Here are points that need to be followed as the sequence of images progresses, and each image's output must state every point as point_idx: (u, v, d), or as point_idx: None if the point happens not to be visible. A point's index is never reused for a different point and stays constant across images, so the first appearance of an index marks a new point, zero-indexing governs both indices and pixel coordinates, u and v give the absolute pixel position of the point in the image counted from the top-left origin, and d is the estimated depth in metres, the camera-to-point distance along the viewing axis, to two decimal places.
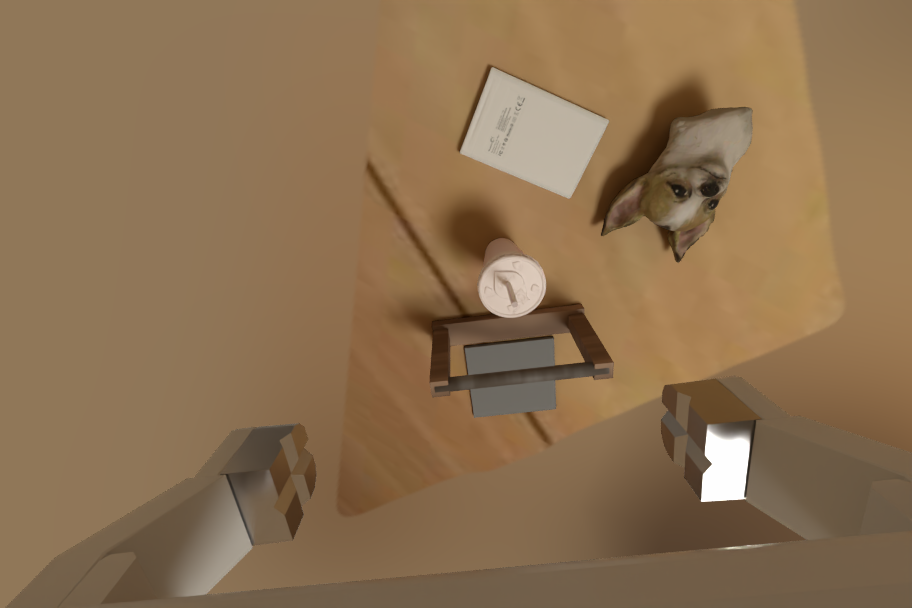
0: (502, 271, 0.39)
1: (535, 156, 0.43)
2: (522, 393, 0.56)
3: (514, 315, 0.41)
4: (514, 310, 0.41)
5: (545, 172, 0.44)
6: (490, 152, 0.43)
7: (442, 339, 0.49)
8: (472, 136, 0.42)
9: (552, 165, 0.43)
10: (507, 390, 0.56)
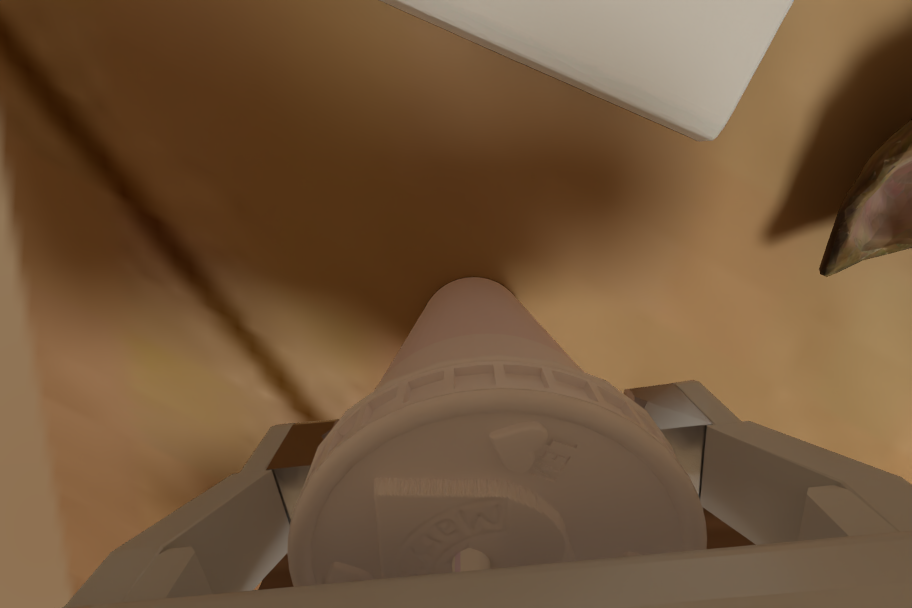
0: (427, 486, 0.06)
1: None
2: None
3: None
4: None
5: (631, 32, 0.12)
6: None
7: None
8: None
9: (660, 4, 0.11)
10: None
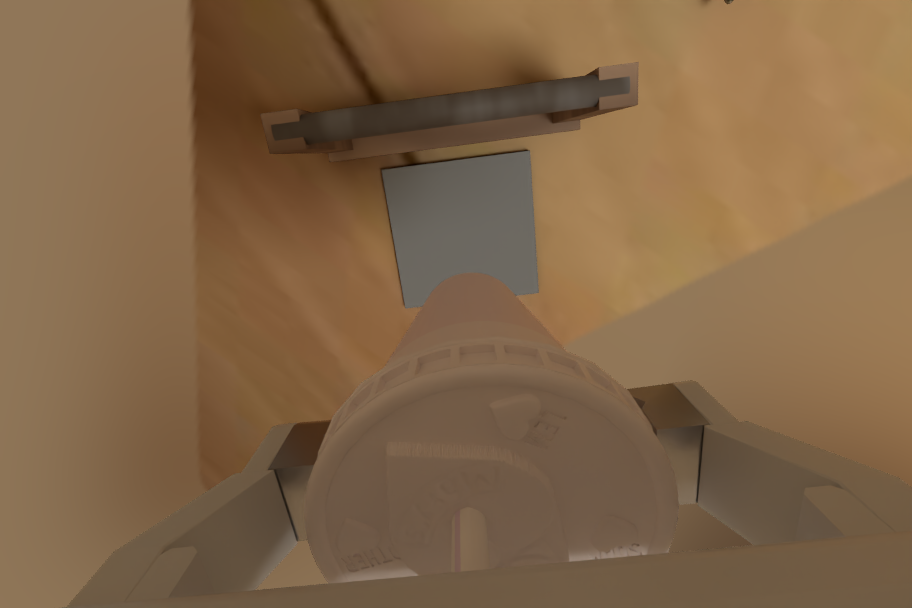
0: (432, 449, 0.07)
1: None
2: (483, 261, 0.34)
3: None
4: None
5: None
6: None
7: None
8: None
9: None
10: (457, 256, 0.34)
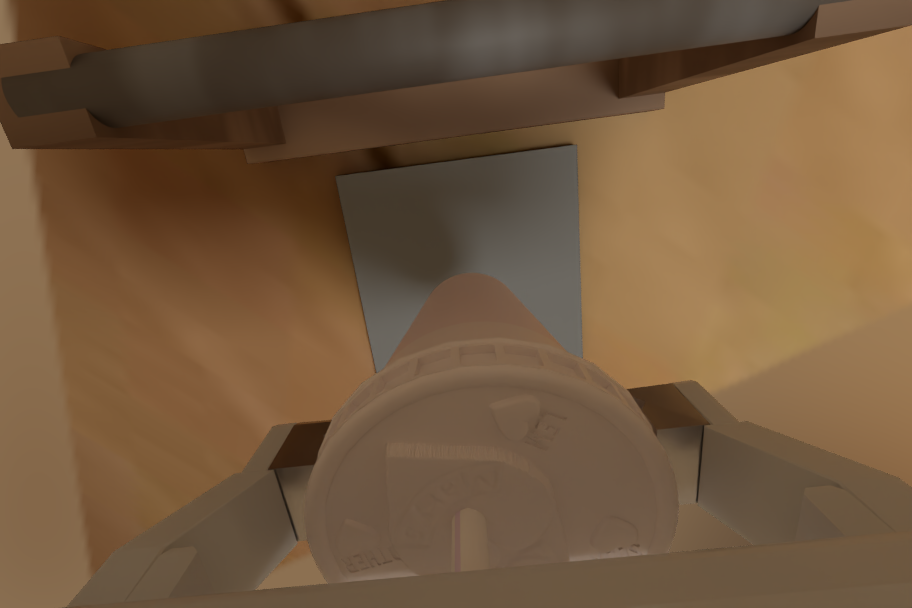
0: (433, 450, 0.07)
1: None
2: None
3: None
4: None
5: None
6: None
7: None
8: None
9: None
10: None
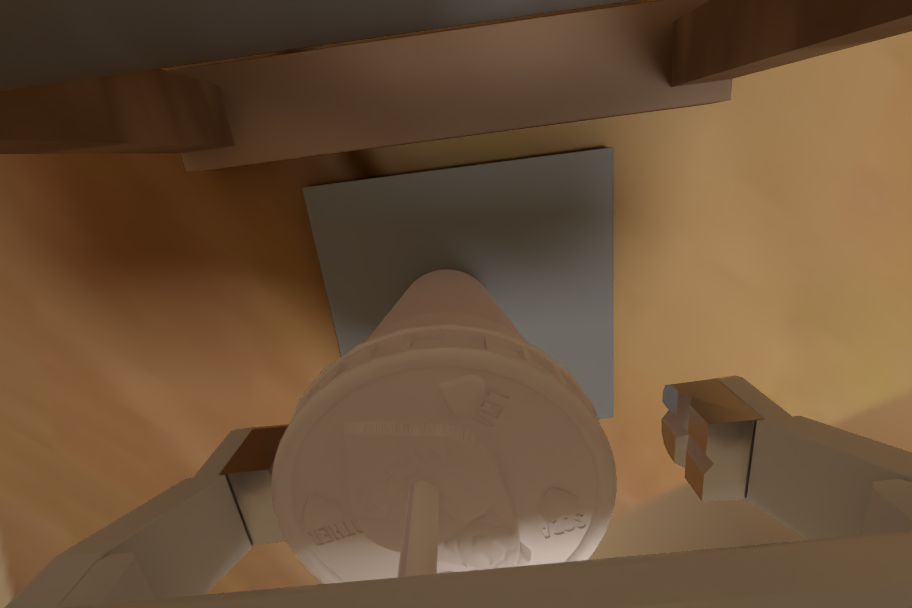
0: (387, 428, 0.07)
1: None
2: None
3: None
4: None
5: None
6: None
7: None
8: None
9: None
10: None
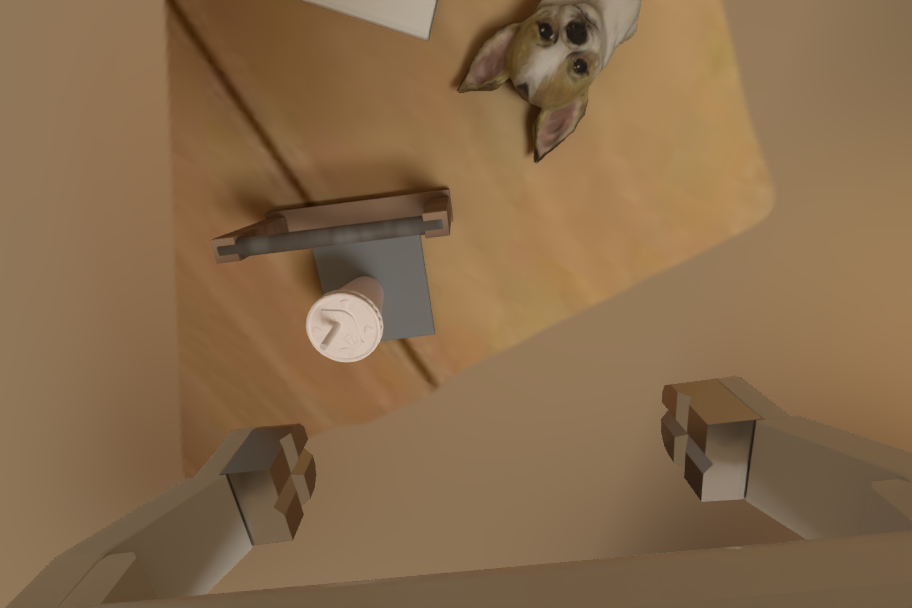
0: (330, 310, 0.35)
1: None
2: (391, 311, 0.46)
3: (350, 359, 0.37)
4: (349, 354, 0.37)
5: (389, 5, 0.36)
6: None
7: (268, 221, 0.40)
8: None
9: None
10: None
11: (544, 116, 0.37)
